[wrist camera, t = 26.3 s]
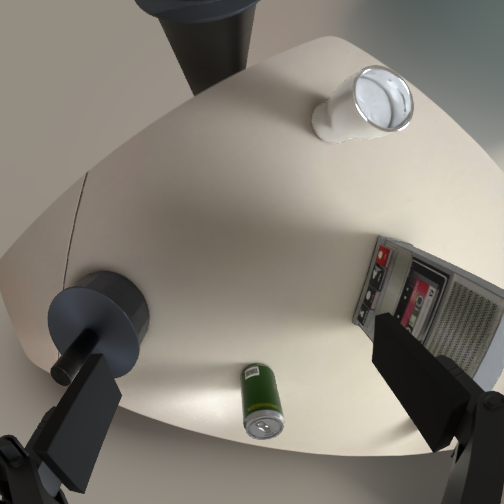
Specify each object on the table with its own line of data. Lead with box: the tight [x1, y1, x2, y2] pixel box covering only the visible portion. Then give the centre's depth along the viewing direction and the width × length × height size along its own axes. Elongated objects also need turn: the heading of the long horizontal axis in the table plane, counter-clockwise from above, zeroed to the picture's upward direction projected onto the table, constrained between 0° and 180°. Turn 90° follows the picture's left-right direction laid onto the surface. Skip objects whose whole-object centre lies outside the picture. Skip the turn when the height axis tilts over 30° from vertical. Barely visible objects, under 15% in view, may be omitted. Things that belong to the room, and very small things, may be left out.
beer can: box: [241, 364, 284, 440], centre depth 39 cm, size 5×5×12 cm
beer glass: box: [311, 65, 414, 144], centre depth 29 cm, size 7×7×15 cm
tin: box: [75, 271, 149, 344], centre depth 37 cm, size 13×13×8 cm
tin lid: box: [48, 286, 140, 386], centre depth 29 cm, size 14×14×10 cm
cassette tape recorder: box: [352, 236, 504, 392], centre depth 31 cm, size 14×6×25 cm, turn 168°
